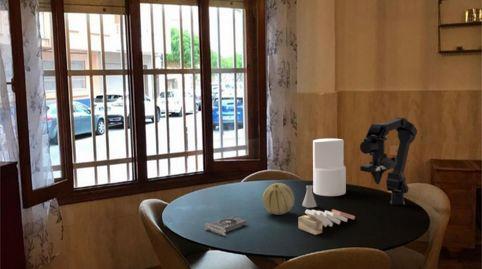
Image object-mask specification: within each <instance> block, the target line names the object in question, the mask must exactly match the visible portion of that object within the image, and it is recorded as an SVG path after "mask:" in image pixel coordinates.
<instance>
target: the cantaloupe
mask: <svg viewBox="0 0 482 269" xmlns="http://www.w3.org/2000/svg"><path fill="white" fill-rule="evenodd" d="M262 203H263V206H264V207H263V208H265V209H266V210H267V212H268V213H270V214H272V215H277V216H279V215H284V214H286V213H289V211H290V210H291V209H292V208H293V207H294V204H295V195H294V192H293V190H292V188H291V187H290V186H288V185H286V184H285V183H280V182H276V183H272V184H270V185H269V186H268V187H266V189H265V190H264V192H263V194H262Z"/></svg>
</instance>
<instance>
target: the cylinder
mask: <svg viewBox="0 0 482 269" xmlns="http://www.w3.org/2000/svg"><path fill="white" fill-rule="evenodd" d="M344 143H345V142H344V139H341V138H317V139H314V140H312V160H313V161H312V165H313V166H312V167H313V168H312V169H313V171H312V175H313V176H312V179H313V180H312V181H313V182H312V186H313V188H312V192H313V193H314V194H315V195H318V196H322V197H338V196H343V195H345V194H346V191H347V188H346V187H347V186H346V185H347V184H346V183H347V182H346V179H347V174H346V173H347V172H346V170H347V166H345V165H344V163H345V162H344V159H345V158H344V157H345V155H344Z"/></svg>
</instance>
